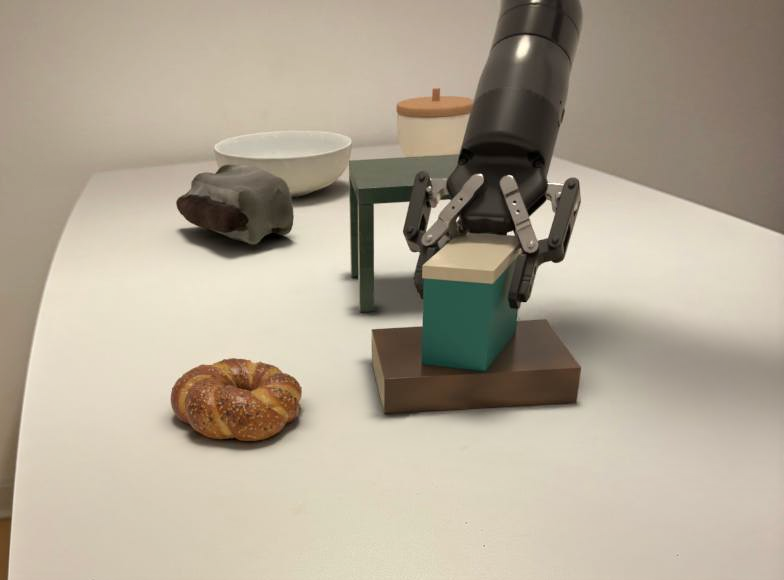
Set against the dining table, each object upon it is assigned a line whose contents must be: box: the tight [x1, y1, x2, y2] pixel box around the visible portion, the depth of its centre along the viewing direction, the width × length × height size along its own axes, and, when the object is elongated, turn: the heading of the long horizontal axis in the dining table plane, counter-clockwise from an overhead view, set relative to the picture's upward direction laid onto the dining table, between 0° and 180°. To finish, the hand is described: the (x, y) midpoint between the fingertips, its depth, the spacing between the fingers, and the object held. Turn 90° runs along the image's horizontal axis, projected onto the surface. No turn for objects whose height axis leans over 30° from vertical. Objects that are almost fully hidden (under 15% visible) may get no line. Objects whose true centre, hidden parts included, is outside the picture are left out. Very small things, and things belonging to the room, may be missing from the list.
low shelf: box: [371, 318, 582, 414], centre depth 82 cm, size 16×12×3 cm
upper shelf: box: [348, 154, 493, 313], centre depth 101 cm, size 14×14×12 cm
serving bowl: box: [213, 130, 353, 198], centre depth 144 cm, size 21×21×7 cm
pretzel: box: [170, 357, 303, 442], centre depth 78 cm, size 12×11×4 cm
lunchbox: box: [421, 233, 522, 371], centre depth 79 cm, size 10×6×8 cm, turn 156°
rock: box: [175, 165, 295, 246], centre depth 124 cm, size 18×11×8 cm, turn 31°
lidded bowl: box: [396, 87, 474, 157], centre depth 154 cm, size 13×13×11 cm
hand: (467, 299), depth 77 cm, fingers open, 7 cm apart
